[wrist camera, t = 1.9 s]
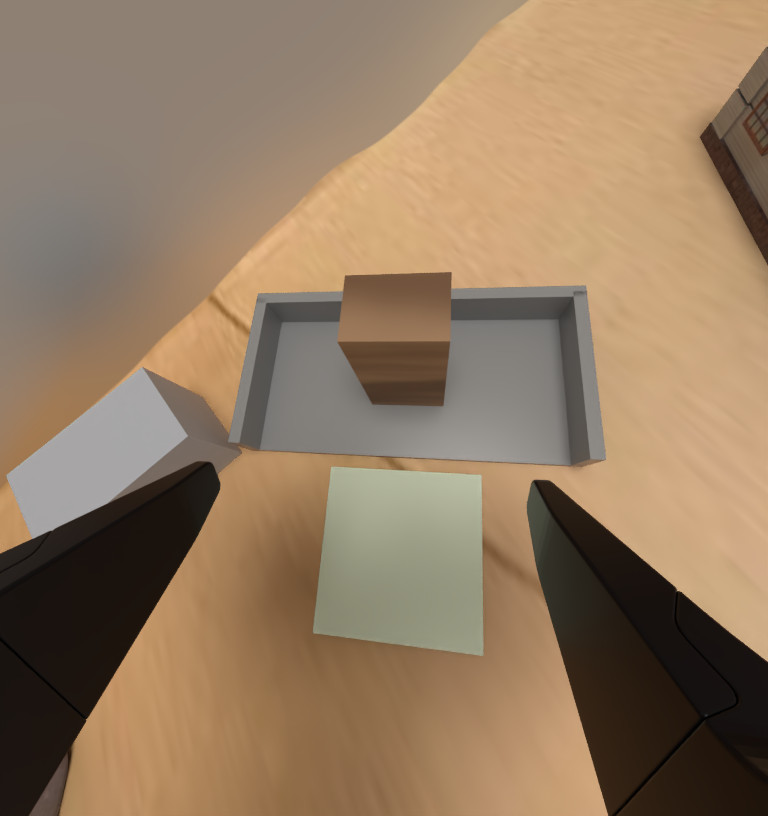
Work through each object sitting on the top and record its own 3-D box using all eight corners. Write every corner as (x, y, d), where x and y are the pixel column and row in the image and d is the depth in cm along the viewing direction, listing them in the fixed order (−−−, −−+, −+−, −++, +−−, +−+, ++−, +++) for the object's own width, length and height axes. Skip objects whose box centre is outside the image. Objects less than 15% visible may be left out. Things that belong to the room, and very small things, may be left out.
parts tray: (583, 466, 21) (606, 459, 19) (251, 449, 25) (227, 442, 22) (568, 311, 25) (586, 285, 22) (275, 315, 28) (258, 293, 25)
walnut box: (443, 406, 23) (450, 341, 14) (372, 404, 24) (337, 341, 15) (444, 358, 24) (451, 270, 15) (376, 358, 25) (345, 273, 16)
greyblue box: (133, 547, 24) (40, 558, 18) (99, 483, 26) (6, 475, 20) (243, 453, 25) (188, 436, 19) (203, 397, 27) (142, 367, 21)
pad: (482, 653, 19) (483, 656, 19) (314, 631, 21) (312, 633, 20) (480, 475, 22) (481, 474, 22) (333, 467, 24) (331, 466, 23)
